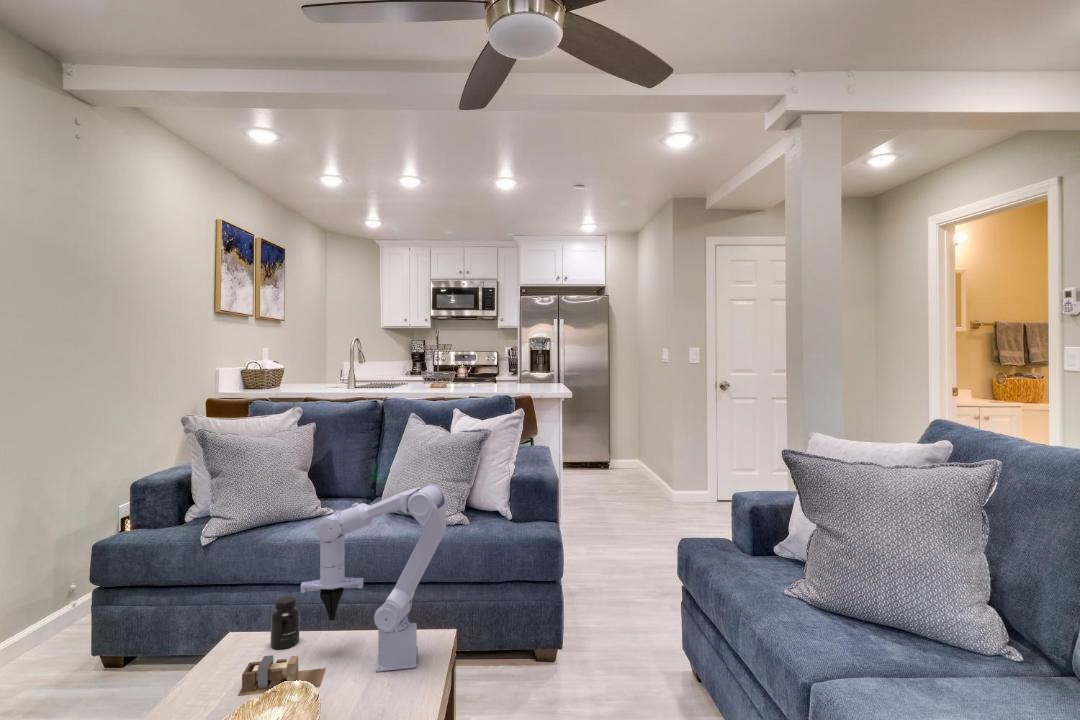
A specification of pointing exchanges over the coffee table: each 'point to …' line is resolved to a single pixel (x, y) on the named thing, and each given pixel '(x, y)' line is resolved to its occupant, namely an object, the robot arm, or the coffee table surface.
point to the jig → (276, 678)
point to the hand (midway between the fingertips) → (332, 618)
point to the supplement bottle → (285, 624)
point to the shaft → (284, 669)
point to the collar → (264, 672)
